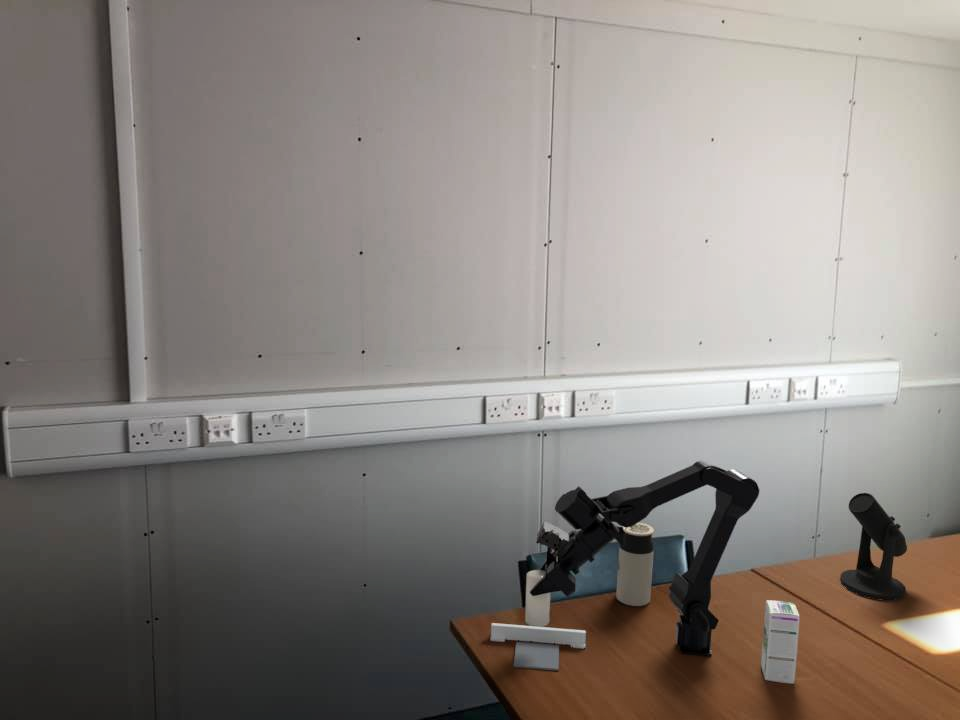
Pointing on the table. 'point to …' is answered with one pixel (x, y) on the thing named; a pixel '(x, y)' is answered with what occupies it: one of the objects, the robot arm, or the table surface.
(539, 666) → the slate mat
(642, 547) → the travel mug
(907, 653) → the table surface
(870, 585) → the microphone
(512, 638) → the light grey long bar
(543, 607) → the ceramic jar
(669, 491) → the robot arm
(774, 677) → the syrup box
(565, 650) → the table surface
